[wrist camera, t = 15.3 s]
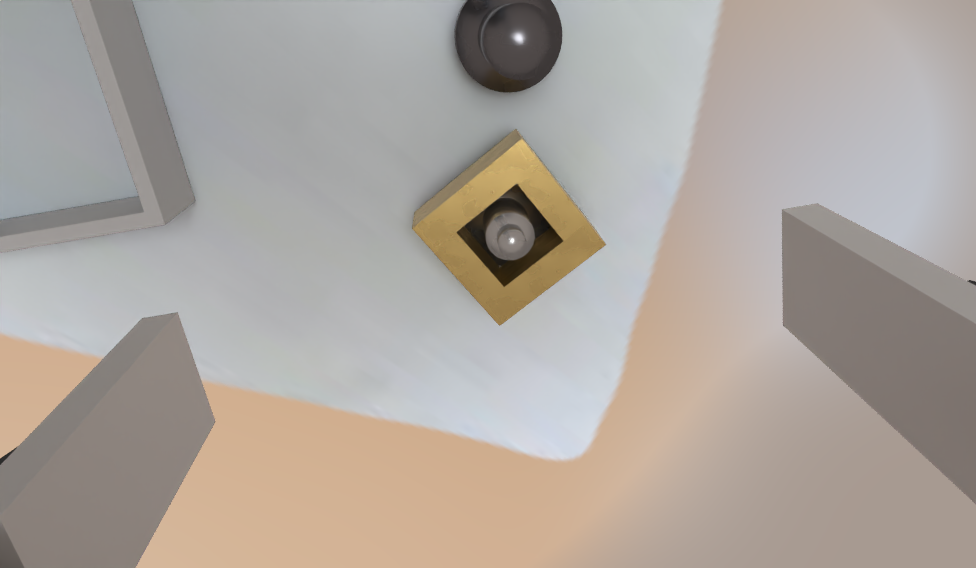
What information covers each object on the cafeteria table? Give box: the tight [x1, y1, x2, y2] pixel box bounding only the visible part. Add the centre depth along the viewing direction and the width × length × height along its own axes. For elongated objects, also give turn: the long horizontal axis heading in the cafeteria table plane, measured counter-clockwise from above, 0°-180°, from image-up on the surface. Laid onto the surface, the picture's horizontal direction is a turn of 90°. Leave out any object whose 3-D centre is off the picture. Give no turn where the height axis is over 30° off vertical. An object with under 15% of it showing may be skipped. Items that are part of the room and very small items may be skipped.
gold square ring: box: [412, 129, 606, 326], centre depth 48 cm, size 9×9×4 cm
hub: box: [464, 184, 552, 266], centre depth 49 cm, size 7×7×8 cm
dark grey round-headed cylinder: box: [455, 0, 562, 92], centre depth 44 cm, size 7×7×10 cm
